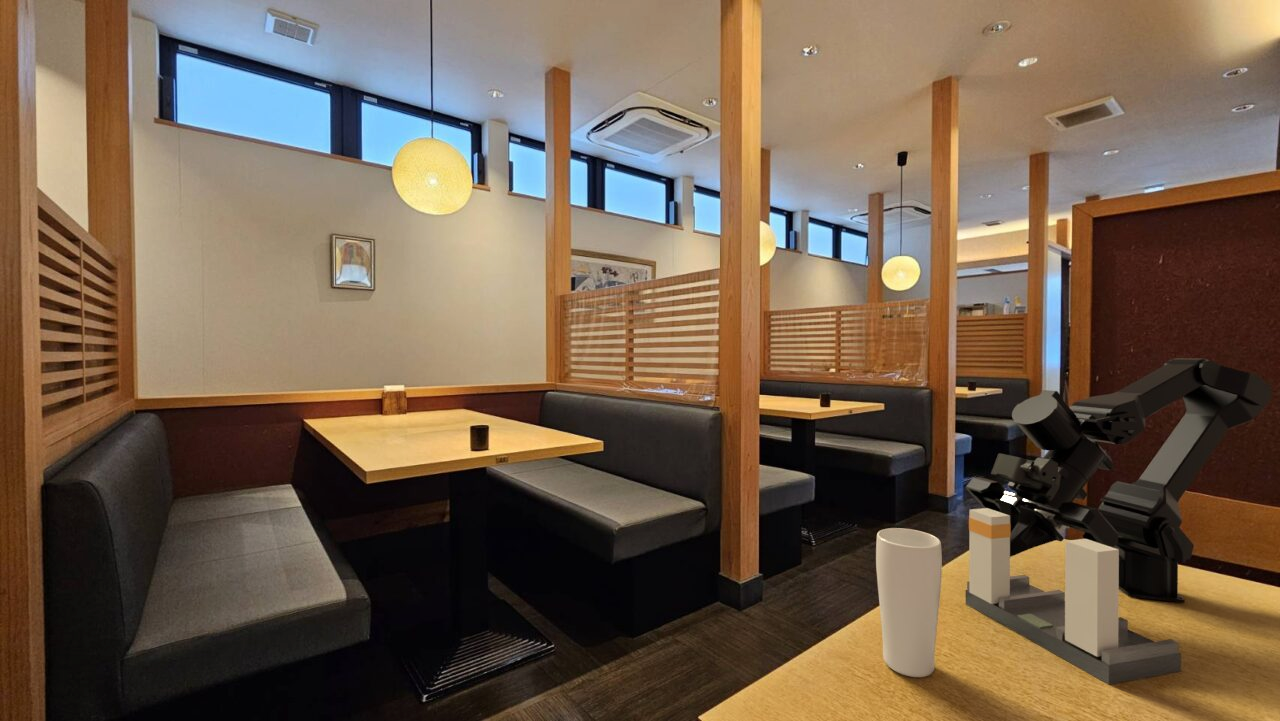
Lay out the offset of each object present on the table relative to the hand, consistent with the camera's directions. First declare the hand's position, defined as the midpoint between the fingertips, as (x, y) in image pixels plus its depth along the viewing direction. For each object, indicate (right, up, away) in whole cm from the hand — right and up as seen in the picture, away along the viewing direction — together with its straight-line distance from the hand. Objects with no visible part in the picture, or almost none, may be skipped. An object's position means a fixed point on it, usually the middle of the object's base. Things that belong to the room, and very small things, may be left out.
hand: (999, 556), depth 74 cm
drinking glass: (-19, -8, -12) cm, 24 cm away
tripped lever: (-2, -5, 0) cm, 6 cm away
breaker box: (+4, -8, -6) cm, 10 cm away
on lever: (+2, -6, -13) cm, 14 cm away
